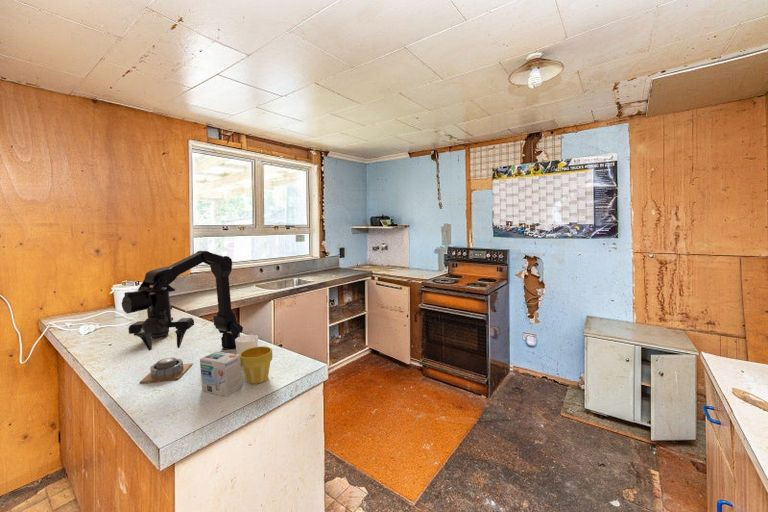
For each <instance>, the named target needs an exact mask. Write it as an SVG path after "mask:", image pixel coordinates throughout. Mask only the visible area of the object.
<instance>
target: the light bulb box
mask: <svg viewBox="0 0 768 512" xmlns="http://www.w3.org/2000/svg"><path fill="white" fill-rule="evenodd" d="M199 365H200V366H199V367H200V376H201V377H200V378H201V381H200V382H201V390H202V391H203V392H207V393H211V394H216V395H220V396H222V397H227V396H229V395H231V394H232V392H233V393H234V392H236V391H237V390H239V389H240V388H242V387H243V377H242V375H243V374H242V367H241V361H240V355H237V353H236V354H234V353H228V352H222V351H217V350H216V351H214V352H211V353H210V354H208V355H205V356H203V357H200V359H199Z"/></svg>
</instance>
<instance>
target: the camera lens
mask: <svg viewBox="0 0 768 512" xmlns="http://www.w3.org/2000/svg"><path fill="white" fill-rule="evenodd" d="M149 311H151V308H150V307H149V308H148V309H146V313H147V317H148V316H149ZM169 332H170V327H169V328H162V329H161V331H160V332H158V333H151V338H152V339H153V340H158V339H163V338H166V337H168V336H169Z"/></svg>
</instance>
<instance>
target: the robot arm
mask: <svg viewBox="0 0 768 512" xmlns="http://www.w3.org/2000/svg"><path fill="white" fill-rule="evenodd" d="M230 257H231V256H228V255H220V254H216V253H212V252H211V251H208V250H198V251H196V252H194V253H192V254H190V255H189V256H186V257H185V258H182V259H181V260H178V261H177V262H174V263H173V264H171V265H168V266H164V267H158V268H155V269H154V268H153V269H151V270H149V271H147V272H146V273H145V275H144V280H143V281H142V283H141V284H140V285H139V287H138V289H137V290H134V291H127V292H124V293H123V294H124V296H123V297H122V300H121V308H122V310H123V312H125V314H131V313H132V314H133V313H136V312H141V311H144V310H146V311H147V309H148V308H149V307H150V308H151V311H149V316H148V315H147V318H146V319H145V320H139V321H135V322H133V323H132V324H130V325H129V327H128V334H129V335H130V334H131V335H132V334H133V336H135V337H138V338H140V339H141V341H142V342H143V344H144V345H145V346H146V348H147V350H148V351H152V349H153V343H152V341H153V340H152V337H151V333H158V332H160V331H161V329H162V328H169V329H170V328H174V329H176V330H175V331H174V332H175V334H176V347H177V349H179V348H181V345H182V342H183V340H184V337H185V335H186V332H187V331H188V330H189V329H191V327H194V326H195V320H194V319H193V317H183V318H179V319H178V320H176V321H174V317H172V310H173V305H172V306H171V301H170V293H171V292H175V291H176V288H174V287H173V286H171V285H170V284H172V283H173V282H174V281H175V280H176V279H177V277H179V276H180V275H182V274H184V273H186V272H188V271H189V270H191V269H194V268H195V267H197V266H199V265H201V264H206V265H208V266H209V268H210V270H211V271H210V272H211V273H212V274H213V276H214V278H215V285H216V296H217V308H218V312H217V313H216V315H212V316H213V317H212V319H213V326H215V329H216V330H218V332H219V333H220V334H222V336H221V347H222V348H221V350H232V349H233V348H234V349H236V343H235V339H236V338H238V337H240V335H241V333H242V332H243V331H244V327H243V326H242V324H241V325H240V324H239V323H238V320H237V316H236V315H235V313H234V311H233V309H232V302H231V301H232V300H231V288H230V278H229V277H230V274H231V273H232V270H233V260H232V258H230Z"/></svg>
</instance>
